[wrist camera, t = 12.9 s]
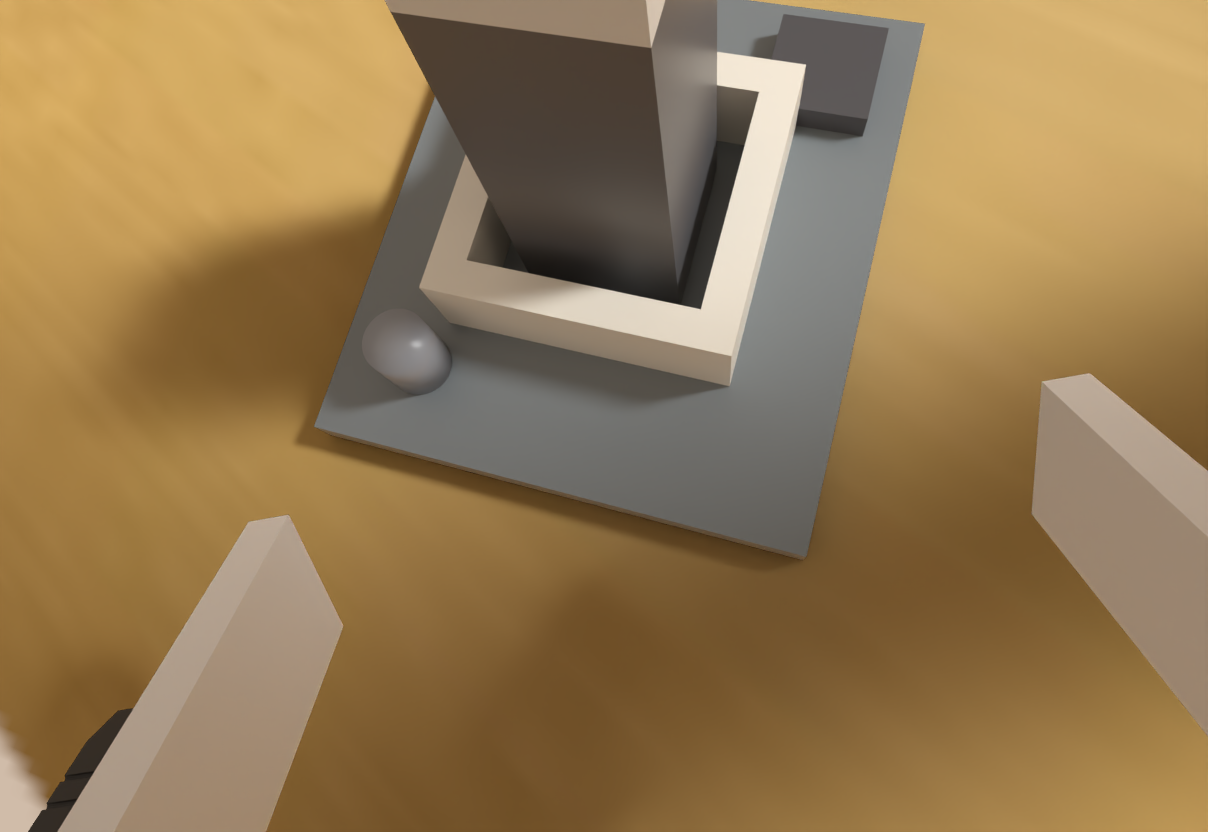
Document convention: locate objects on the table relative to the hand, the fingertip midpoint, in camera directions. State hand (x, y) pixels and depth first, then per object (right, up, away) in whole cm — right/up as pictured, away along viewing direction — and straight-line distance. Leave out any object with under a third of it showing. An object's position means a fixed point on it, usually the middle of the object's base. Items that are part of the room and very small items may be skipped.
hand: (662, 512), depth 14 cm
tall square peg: (0, +7, +9) cm, 11 cm away
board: (0, +7, +10) cm, 12 cm away
